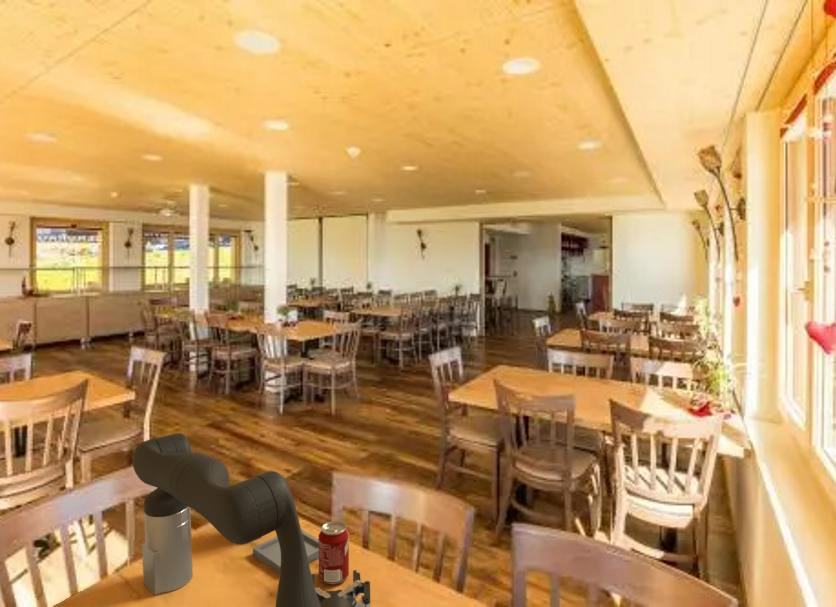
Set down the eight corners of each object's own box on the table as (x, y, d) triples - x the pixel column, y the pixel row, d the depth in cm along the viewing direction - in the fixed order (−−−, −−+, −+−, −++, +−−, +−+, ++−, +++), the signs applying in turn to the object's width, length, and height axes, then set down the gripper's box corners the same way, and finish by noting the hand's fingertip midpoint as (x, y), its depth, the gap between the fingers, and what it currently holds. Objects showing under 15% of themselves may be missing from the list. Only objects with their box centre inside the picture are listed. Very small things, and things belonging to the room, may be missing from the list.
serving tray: (284, 577, 118) (284, 569, 117) (252, 555, 126) (252, 547, 126) (328, 552, 127) (328, 545, 127) (296, 534, 136) (296, 526, 136)
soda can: (342, 588, 114) (342, 537, 113) (314, 584, 115) (313, 533, 114) (352, 570, 120) (352, 521, 119) (325, 566, 122) (325, 518, 121)
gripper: (374, 608, 92) (368, 555, 108) (292, 616, 89) (298, 562, 105) (374, 647, 93) (368, 589, 108) (293, 656, 90) (299, 596, 106)
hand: (334, 576), depth 107 cm, fingers open, 8 cm apart
